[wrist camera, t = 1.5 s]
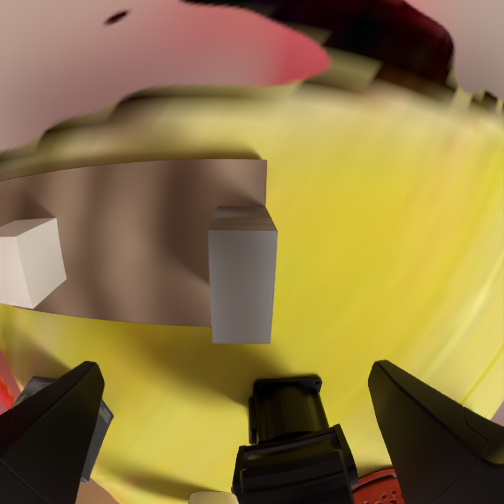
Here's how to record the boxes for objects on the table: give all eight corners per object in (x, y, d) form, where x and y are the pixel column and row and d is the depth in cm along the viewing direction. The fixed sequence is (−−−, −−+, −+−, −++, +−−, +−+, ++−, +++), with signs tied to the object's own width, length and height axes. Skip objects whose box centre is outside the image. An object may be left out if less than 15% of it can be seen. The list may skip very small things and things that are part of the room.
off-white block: (56, 217, 17) (15, 236, 13) (66, 278, 19) (33, 308, 14) (15, 220, 17) (-24, 237, 12) (26, 275, 19) (-8, 301, 14)
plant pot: (384, 459, 33) (405, 513, 22) (410, 466, 37) (429, 509, 25) (324, 491, 36) (335, 541, 25) (358, 495, 39) (371, 537, 28)
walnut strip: (265, 159, 18) (280, 161, 11) (259, 320, 22) (266, 382, 15) (-4, 182, 17) (-57, 197, 10) (18, 302, 21) (-21, 338, 14)
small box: (90, 377, 24) (53, 450, 14) (116, 415, 26) (92, 485, 17) (30, 373, 24) (-7, 429, 15) (56, 409, 27) (27, 464, 17)
